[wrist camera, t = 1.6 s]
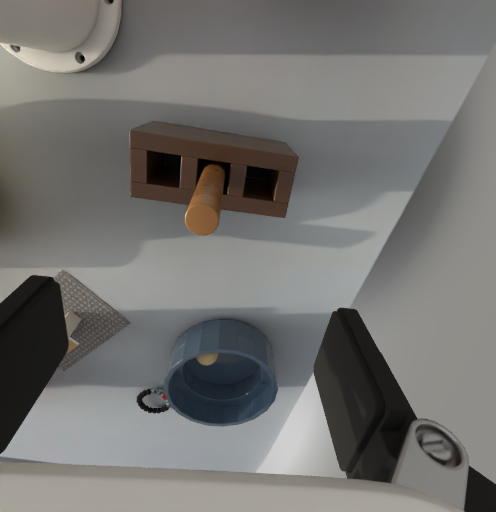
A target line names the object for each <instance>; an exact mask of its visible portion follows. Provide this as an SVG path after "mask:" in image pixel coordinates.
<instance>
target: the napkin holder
mask: <svg viewBox="0 0 496 512" xmlns="http://www.w3.org/2000/svg"><path fill="white" fill-rule="evenodd" d="M65 321H66V327H67V334H68V341H69V347H68V351H67V354H69V353H70V352H71V351H73V350H74V349H75V348H77V347H78V346H79V345H80V343H79V342H78V341H76V340H75V339H74V338H72V337H71V336H72V334H73V333H74V331H75V330H76V328H77V327H78V325H79V324H80V322H81V321H82V319H81V318H80V317H78V316H77V315H75V314H74V313H73V312H72V311H71V312H70V311H69V312H68V313H66V314H65Z"/></svg>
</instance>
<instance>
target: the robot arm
mask: <svg viewBox="0 0 496 512" xmlns="http://www.w3.org/2000/svg"><path fill="white" fill-rule="evenodd" d="M121 3H122V0H114V2H113V3H112V4H111V3H110V1H109V0H0V44H1V45H2V46H3V47H4V48H5V49H6V50H7V51H9V52H10V53H11V54H13V55H14V56H16V57H17V58H19V59H20V60H21V61H23V62H25V63H27V64H29V65H31V66H34V67H36V68H38V69H42V70H46V71H49V72H56V73H75V72H79V71H82V70H86V69H88V68H90V67H92V66H93V65H95V64H97V63H98V62H99V61H100V60H101V59H102V58H103V57H104V56H105V55H106V54H107V53H108V51H109V50H110V48H111V47H112V45H113V43H114V41H115V38H116V36H117V33H118V31H119V25H120V20H121ZM19 46H20V47H21V49H19ZM82 56H84V57H85V62H83V61H82ZM68 347H69V341H68V334H67V327H66V321H65V314H64V308H63V301H62V295H61V288H60V284H59V283H58V282H55V280H54V278H52V277H47V276H37V275H32V276H30V277H29V278H28V279H27V280H26V281H24V282H23V283H22V284H21V285H20V286H19V287H18V288H17V289H16V290H15V291H14V292H12V293H11V294H10V295H9V296H8V297H7V298H6V299H5V300H4V301H3V302H2V303H0V454H1V453H2V452H3V451H4V450H5V449H6V447H7V446H8V444H9V443H10V441H11V440H12V438H13V436H14V435H15V433H16V432H17V430H18V429H19V427H20V425H21V424H22V422H23V421H24V419H25V418H26V416H27V415H28V413H29V411H30V410H31V408H32V407H33V405H34V404H35V402H36V400H37V399H38V397H39V396H40V394H41V393H42V391H43V389H44V388H45V386H46V385H47V383H48V382H49V380H50V378H51V377H52V375H53V374H54V372H55V371H56V369H57V367H58V366H59V364H60V363H61V361H62V360H63V358H64V356H65V355H66V353H67V351H68ZM314 376H315V380H316V383H317V387H318V391H319V394H320V398H321V402H322V405H323V409H324V412H325V416H326V420H327V423H328V427H329V431H330V434H331V438H332V442H333V445H334V449H335V452H336V456H337V460H338V463H339V466H340V469H341V470H342V471H345V472H346V475H347V479H345V478H332V477H318V476H302V475H301V476H300V475H283V474H281V475H280V474H263V473H245V472H226V471H205V470H184V469H163V468H141V467H119V466H96V465H72V464H47V463H24V462H23V463H22V462H0V512H496V484H494V483H493V482H492V481H490V480H489V479H487V478H486V477H484V476H483V475H482V474H480V473H479V472H477V471H476V470H474V469H473V468H472V467H470V466H469V459H468V455H467V452H466V450H465V448H464V446H463V445H462V444H461V442H460V441H459V439H458V438H457V437H456V436H455V435H454V434H453V433H452V432H451V431H449V430H448V429H447V428H445V427H444V426H443V425H440V424H439V423H437V422H435V421H431V420H428V419H417V417H416V415H415V413H414V412H413V410H412V408H411V407H410V404H409V403H408V401H407V399H406V397H405V395H404V393H403V392H402V390H401V388H400V386H399V384H398V383H397V381H396V379H395V377H394V375H393V374H392V372H391V370H390V368H389V366H388V364H387V363H386V361H385V359H384V357H383V355H382V354H381V352H380V351H379V350H378V348H377V346H376V344H375V343H374V340H373V339H372V337H371V335H370V333H369V332H368V330H367V328H366V326H365V324H364V322H363V320H362V319H361V317H360V315H359V313H358V311H357V310H355V309H348V308H339V309H338V310H337V311H334V312H333V313H332V315H331V318H330V321H329V324H328V326H327V329H326V332H325V335H324V338H323V341H322V343H321V346H320V349H319V352H318V355H317V357H316V360H315V363H314Z"/></svg>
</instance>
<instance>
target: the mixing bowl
mask: <svg viewBox="0 0 496 512" xmlns="http://www.w3.org/2000/svg"><path fill="white" fill-rule="evenodd" d="M212 353H218V357H217V359H216V361H215V362H214V363H213V364H211V365H202V364H200V363H199V362H198V361H197V359H196V357H198V356H200V355H205V354H212ZM277 391H278V386H277V379H276V372H275V365H274V358H273V352H272V347H271V345H270V343H269V342H268V340H267V339H266V337H265V336H264V335H263V334H262V333H261V332H259V331H258V330H257V329H255V328H254V327H252V326H249V325H247V324H244V323H241V322H239V321H232V320H222V319H219V320H212V321H206V322H202V323H200V324H198V325H195V326H193V327H191V328H189V329H188V330H186V331H185V332H184V333H183V334H182V335H181V336H180V337H178V339H177V341H176V343H175V345H174V347H173V348H172V352H171V356H170V360H169V364H168V368H167V372H166V377H165V381H164V394H165V396H166V398H167V401H168V403H169V405H170V406H171V407H172V408H173V409H174V410H175V411H176V412H177V413H178V414H179V415H181V416H183V417H185V418H187V419H189V420H190V421H193V422H197V423H200V424H204V425H208V426H230V425H238V424H242V423H245V422H247V421H250V420H253V419H255V418H257V417H258V416H260V415H261V414H263V413H264V412H266V411H267V410H268V408H269V407H270V406H271V405H272V403H273V402H274V401H275V397H276V394H277Z"/></svg>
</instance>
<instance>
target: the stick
mask: <svg viewBox="0 0 496 512" xmlns="http://www.w3.org/2000/svg"><path fill="white" fill-rule="evenodd" d="M226 163H227V162H220V161H213V160H207V162H206V164H205V167H204V169H203V172H202V174H201V177H200V179H199V182H198V184H197V186H196V189H195V191H194V194H193V196H192V199H191V201H190V204H189V206H188V209H187V211H186V214H185V223H186V225H187V227H188V228H189V230H190V231H192V232H193V233H195V234H197V235H208V234H211V233H213V232H214V231H215V230H216V229H217V227H218V225H219V219H220V211H221V203H222V195H223V187H224V179H225V171H226Z"/></svg>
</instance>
